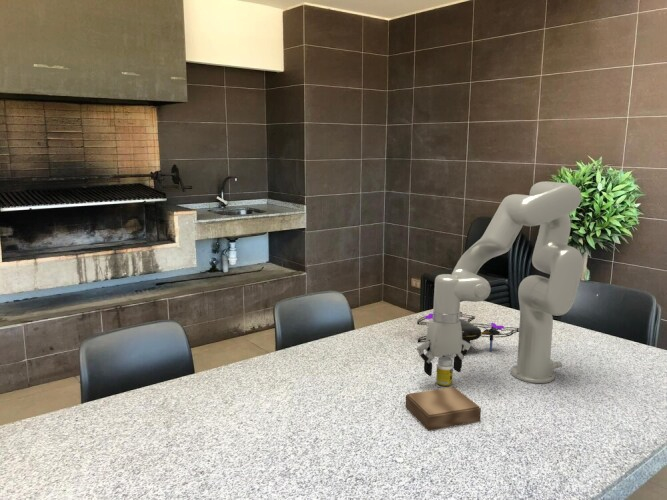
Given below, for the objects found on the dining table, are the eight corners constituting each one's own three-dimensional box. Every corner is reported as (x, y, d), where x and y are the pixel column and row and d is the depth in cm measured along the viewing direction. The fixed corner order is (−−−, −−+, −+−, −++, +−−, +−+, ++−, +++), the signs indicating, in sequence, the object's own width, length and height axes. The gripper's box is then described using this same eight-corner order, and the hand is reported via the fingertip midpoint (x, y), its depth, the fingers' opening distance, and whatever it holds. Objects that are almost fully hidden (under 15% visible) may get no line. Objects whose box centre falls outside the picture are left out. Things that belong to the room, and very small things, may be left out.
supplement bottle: (452, 389, 153) (453, 362, 152) (435, 388, 154) (436, 361, 153) (452, 383, 158) (453, 356, 156) (436, 381, 159) (437, 355, 157)
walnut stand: (453, 399, 147) (454, 386, 146) (480, 421, 135) (481, 406, 134) (405, 407, 143) (405, 393, 142) (428, 430, 130) (428, 415, 130)
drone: (422, 337, 169) (389, 313, 196) (421, 366, 171) (389, 338, 197) (528, 326, 180) (483, 305, 207) (526, 353, 182) (482, 328, 208)
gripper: (464, 311, 159) (461, 364, 161) (413, 315, 153) (410, 370, 156) (478, 318, 151) (474, 374, 154) (425, 322, 146) (422, 380, 149)
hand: (442, 372), depth 155 cm, fingers open, 9 cm apart
